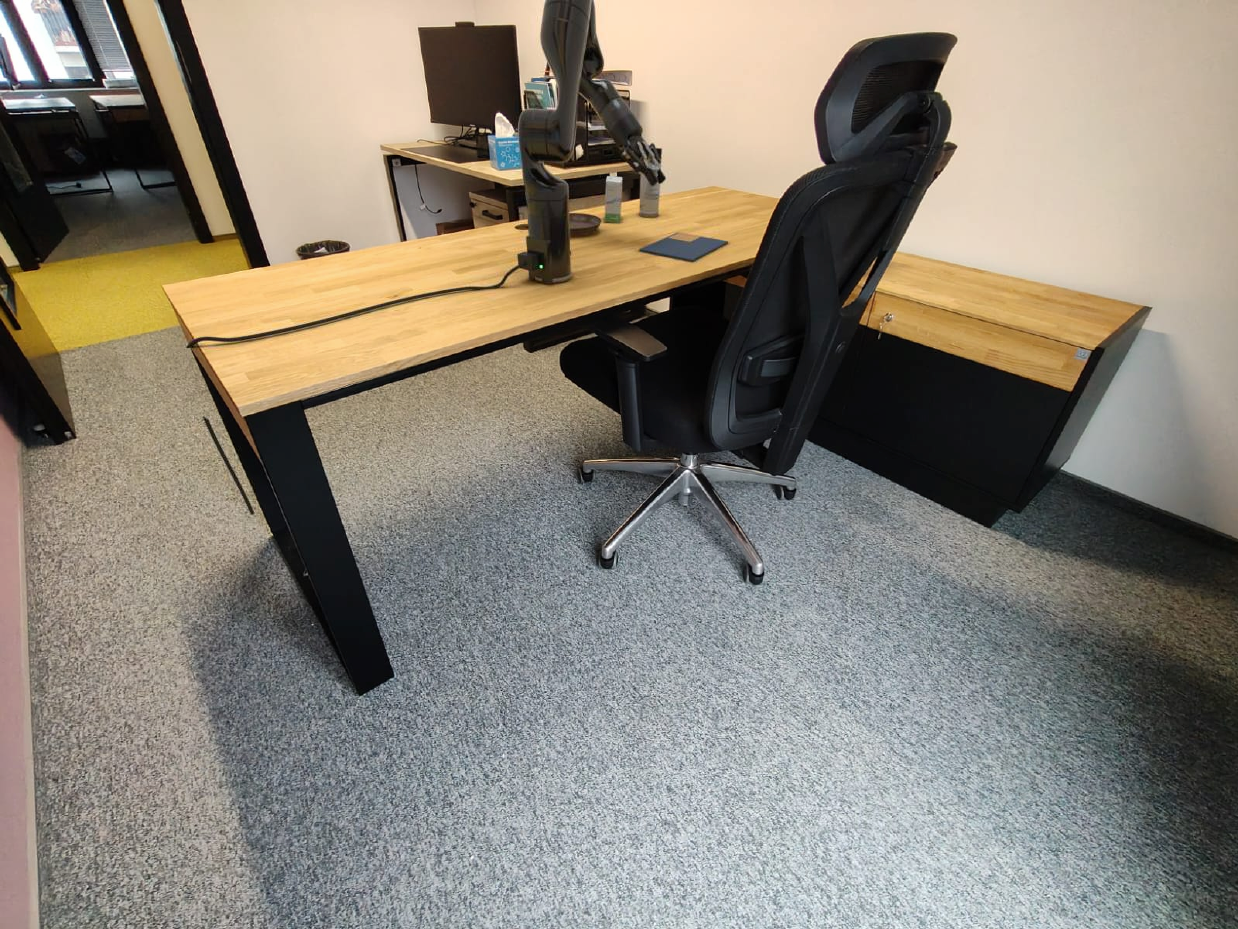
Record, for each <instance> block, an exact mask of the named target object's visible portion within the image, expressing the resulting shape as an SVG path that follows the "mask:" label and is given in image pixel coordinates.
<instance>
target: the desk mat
mask: <svg viewBox="0 0 1238 929" xmlns="http://www.w3.org/2000/svg"><path fill="white" fill-rule="evenodd" d="M728 244H729V241H728V240H723V239H717V238H712V237H706V236H701V235H696V234H691V233H690V234H689V233H684V232H678V231H677V232H675V233H673V234H670V235H668V236H666V237H664V238H662V239H659V240H657V241H654V242H652V243H649V244H648V245H645V246H642V247H640V248H639V249H638V252H641V253H647V254H651V255H656V256H661V257H666V258H670V259H677V260H680V261H685V262H691V263H694V262H695V261H697V260H699V259H701V258H703V257H705V256H707V255H709V254H711V253H713V252H714V251H717V250H718V249H720V248H722V247H724V246H726V245H728Z"/></svg>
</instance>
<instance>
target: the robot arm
mask: <svg viewBox="0 0 1238 929" xmlns="http://www.w3.org/2000/svg"><path fill="white" fill-rule="evenodd" d="M596 13H597V12H596V4H595V0H545V1H544V4H543V10H542V17H541V25H540V32H539V41H540V46H541V49H542V52H543V55H544V58H545V60H546V62H547V64H548V67H549V69H550V71H551V73H552V76H553V78H554V82H555V84H556V88H557V105H556V108H555V109H551V108H549V109H548V108H526V109H524V110H522V112H521V113H520V115H519V118H518V125H517V138H518V147H519V155H520V156H519V157H520V163H521V172H522V173H521V174H522V181H523V186H524V190H525V202H526V216H527V217H526V218H527V231H528V235H526V236H525V245H526V251H523V252H522V251H521V252H519V253H517V254H516V255H517V265H515V266H514V267H512V268H511V269H509V270H508V272H506V273H505V274H504V276H503V278H502V279H501V281H500V282H498V283H496V284H493V285H490V286H472V285H471V286H461V287H454V288H448V289H447V288H446V289H442V290H436V291H430V292H426V293H425V292H424V293H420V294H416V295H415V294H414V295H411V296H406V297H402V298H398V299H395V300H390V301H386V302H382V303H379V304H375V305H371V306H367V307H364V308H359V309H356V310H351V311H348V312H345V313H341V314H338V315H333V316H330V317H326V318H322V319H317V320H313V321H309V322H306V323H302V324H297V325H292V326H288V327H284V328H278V329H274V330H269V331H264V332H259V333H254V334H253V333H252V334H248V335H242V336H235V337H219V336H199V337H196V338H194V339H192V340H191V341H190V342H189V343H188V344H187V345H186V347H185V349H192V348H194V346H196V345H197V344H198V343H201V342H218V343H219V342H220V343H235V342H243V341H249V340H254V339H260V338H264V337H269V336H275V335H279V334H283V333H288V332H292V331H297V330H302V329H306V328H309V327H314V326H318V325H322V324H326V323H329V322H333V321H337V320H341V319H344V318H345V319H346V318H348V317H351V316H355V315H360V314H363V313H366V312H371V311H374V310H377V309H380V308H385V307H389V306H392V305H396V304H401V303H405V302H410V301H413V300H418V299H422V298H428V297H432V296H437V295H442V294H443V295H444V294H449V293H456V292H461V291H482V290H483V291H484V290H485V291H486V290H494V289H498V288H500V287H502V285H504V284H505V283H506V281H507V279H508V278H509V277H510V275H512V274H513V273H514V272H515V271H518V270H519V269H522V270H526V271H527V272H528V273H527V274H528V280H530V281H534V282H539V283H542V284H547V285H552V284H559V283H564V282H567V281H569V280H571V279H572V277H573V274H572V260H571V256H572V250H571V236H570V219H569V213H570V191H569V190H570V189H569V184H568V183H567V181H566V180H564V179H562V178H561V177H558V176H556V175H554V174H553V173H551V171H550V170H548V168H546V166H545V163H546V162H547V163H567V162H569V161H570V160H571V158H572V156H573V153H574V149H575V144H576V136H577V135H576V134H577V125H578V124H577V123H578V122H577V121H578V111H579V110H578V109H579V108H578V107H579V97H580V96H581V97H582V98H584V100H586V101H587V102H588V103H589V104H590V105H591V106H592V108H593V109H594V112H595V113H596V115H597V116H598V117H599V119H600V121H601V124H602V125H603V127H604V128H605V130H606V131H607V133H608V134H609V136H610V137H611V139H612V140H613V142H614V143H615V145H616V147H617V149H619V150H620V151H623V150H624V151H623V152H622V153H621V154H620V156H621V158H622V159H623V160H624V161H625V162H626V163H627V165H629V167H630V168H631V169H632V170H633V171H634V172H635V173H636V174H639V173H640V175H641V174H644V175H645V177H646V178H647V180H648V182H649V183H650V185H651V186H654V185H655V184H656V183H657V182H658V183H659V184H660V185H662V184H663V183H664V182H665V181H666V180H667V177H666V176H665V173H664V172H663V171H662V168H661V169H660V168H659V170H658V172H657V174H658V176H657V177H656V175H655V174H654V172H653V171H652V169H651V168H650V166H649V164H650V163H653V164H652V165H654V163H655V164H658V167H659V164H660V163H661V164H662V160H660V157H659V155H658V152H657V150H656V148H657V146H656V144H655V143H653V142H651V143H650V144H648V143H647V142H646V140H645V139H644V138H643V137H642V134H643V132H644V129H643V127H642V125H641V124H640V121H639V120H638V119H637V118H636V116H635V114H634V113H633V111H632V110H631V108H630V107H629V105H628V104H627V102H626V101H625V100H624V99H623V98H622V96H621V95H620V93H619V91H618V90H617V88H616V87H615V85H614V84H613V82H612V81H611V80H610V79H601V80H600V79H599V80H594V79H596V78H597V77H599V76H601V75H602V73H603V71H604V67H605V58H604V55H603V52H602V49H601V45H600V42H599V38H598V34H597V18H596ZM579 95H580V96H579ZM647 157H648V159H647ZM655 158H656V159H655ZM544 162H545V163H544ZM649 162H650V163H649ZM202 419H203V421H204V423H205V426H206V428H207V430H208V432H209V434H210V437H211V439H212V440H213V442H214V445H215V447H216V448H217V451H218V453H219V454H220V457H221V459H222V460H223V462H224V464H225V466H226V468H227V470H228V471H229V474H230V475H231V477H232V479H233V481H234V483H235V485H236V487H237V489H238V491H239V493H240V495H241V496H242V498H243V501H244V503H245V505H246V508H247V509H248V512H249V514H250V515H251V516H252V515H255V511H254V508H253V507H252V504H251V502H250V500H249V498H248V496H247V494H246V492H245V490H244V488H243V486H242V484H241V482H240V480H239V478H238V476H237V474H236V472H235V471H234V468H233V467H232V465H231V463H230V461H229V459H228V456H227V455H226V453H225V451H224V449H223V448H222V445H221V444H220V441H219V439H218V437H217V435H216V434H215V431H214V429H213V426H212V424H211V422H210V420H209V418H207V417H205V416H202Z"/></svg>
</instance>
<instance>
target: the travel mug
mask: <svg viewBox="0 0 1238 929" xmlns="http://www.w3.org/2000/svg"><path fill="white" fill-rule="evenodd" d="M656 150H657V152H658V155H659V157H660V160H661V161H662V160H663V159H662V155H663V154H662V153H663V148H662V147H661V148H660V147H656ZM647 159H648V157H647ZM655 159H656V158H655ZM649 163H650V162H649ZM650 164H651V163H650ZM659 168H660V169H661V170H662V162H661V163H660V164H659ZM647 181H648V180H647V178H646V177H645V175H644V174H641V173H640V184H639V185H640V186H639V212H638V215H639V216H640V217H641V218H657V217H659V210H660V209H659V208H660V198H659V199H656V200H649V199H645V198H644V197H643V195H644V190H645V189H646V186H647ZM657 185H658V189H659V191H660V192H661V190H660V189H661V184H659V183H658V182H657Z"/></svg>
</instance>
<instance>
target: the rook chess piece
mask: <svg viewBox="0 0 1238 929" xmlns="http://www.w3.org/2000/svg"><path fill="white" fill-rule="evenodd" d="M652 164H653V163H651V164H649V166H650V168H651V169H652V171H653V172H654V174H655V175H656V177H657V176H658V174H657V172H658V170H659V167H658V164H655V163H654V165H652ZM660 193H661V190H660V191H659V189H658V185H657V183H656V184H655V185H654V186H651V185H650V183H649V182H648V181H647V186H646V189H645V190H644V195H643V197H644V198H645V199H649V200H656V199H659V200H660V198H661V196H660Z"/></svg>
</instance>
